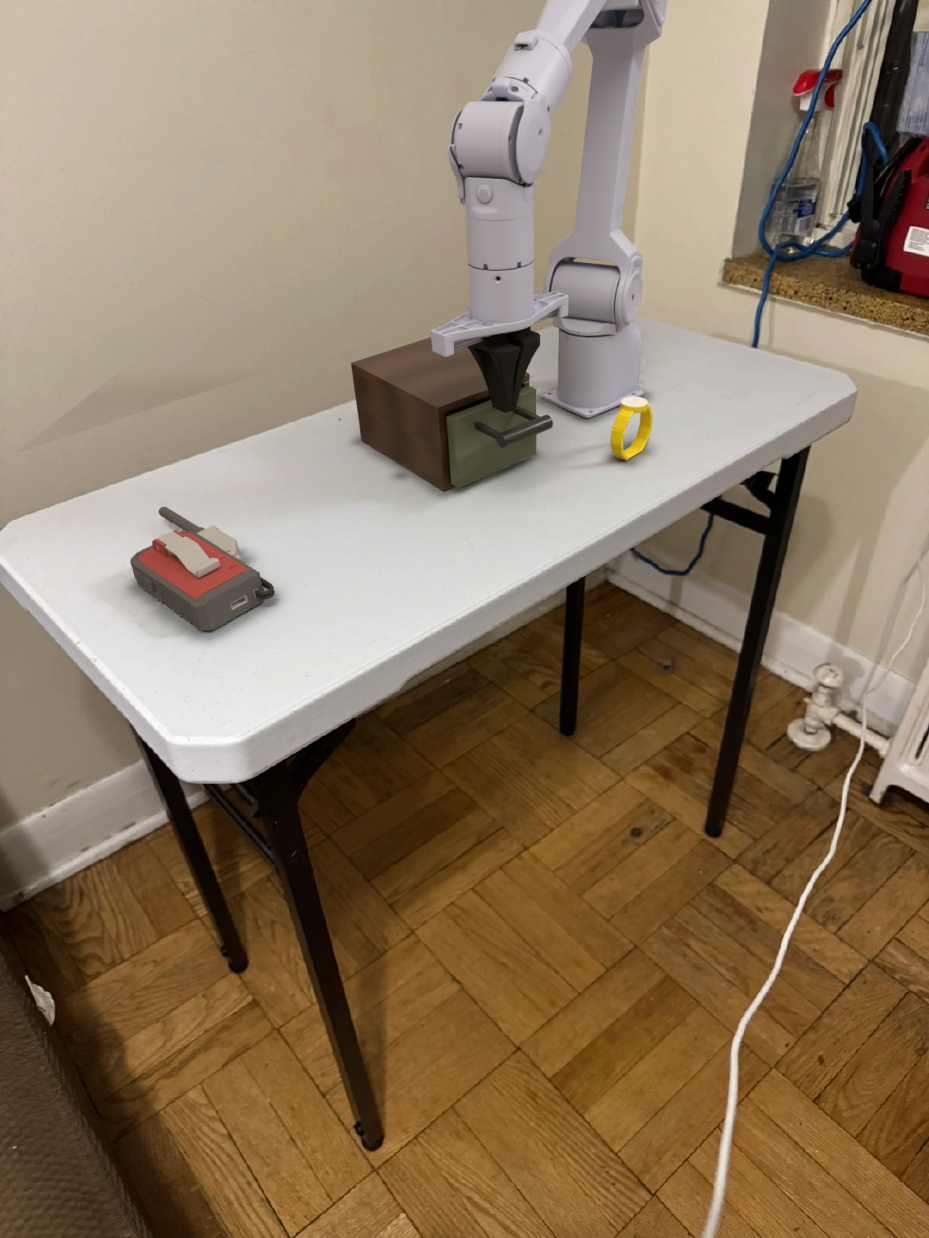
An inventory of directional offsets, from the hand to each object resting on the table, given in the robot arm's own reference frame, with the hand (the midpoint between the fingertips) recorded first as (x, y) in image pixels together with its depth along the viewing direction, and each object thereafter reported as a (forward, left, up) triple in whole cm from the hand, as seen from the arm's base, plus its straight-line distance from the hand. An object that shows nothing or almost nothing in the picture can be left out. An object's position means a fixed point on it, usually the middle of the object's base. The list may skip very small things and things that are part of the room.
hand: (504, 408), depth 83 cm
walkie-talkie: (+31, -7, -8) cm, 33 cm away
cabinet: (0, -11, -8) cm, 13 cm away
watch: (-14, +4, -8) cm, 16 cm away
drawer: (0, -6, -7) cm, 9 cm away
